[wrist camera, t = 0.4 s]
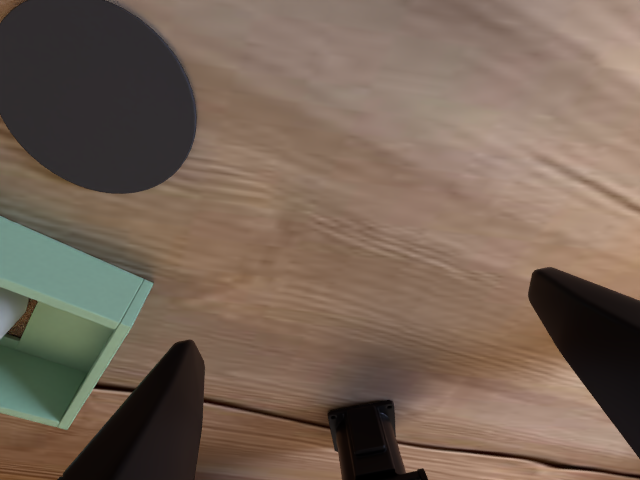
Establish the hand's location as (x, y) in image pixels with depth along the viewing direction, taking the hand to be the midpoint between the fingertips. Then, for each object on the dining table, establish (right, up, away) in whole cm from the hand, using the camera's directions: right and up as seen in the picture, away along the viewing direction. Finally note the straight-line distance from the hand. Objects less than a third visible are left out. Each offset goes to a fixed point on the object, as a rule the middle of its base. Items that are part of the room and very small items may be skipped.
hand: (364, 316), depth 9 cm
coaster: (-13, +9, +10) cm, 19 cm away
